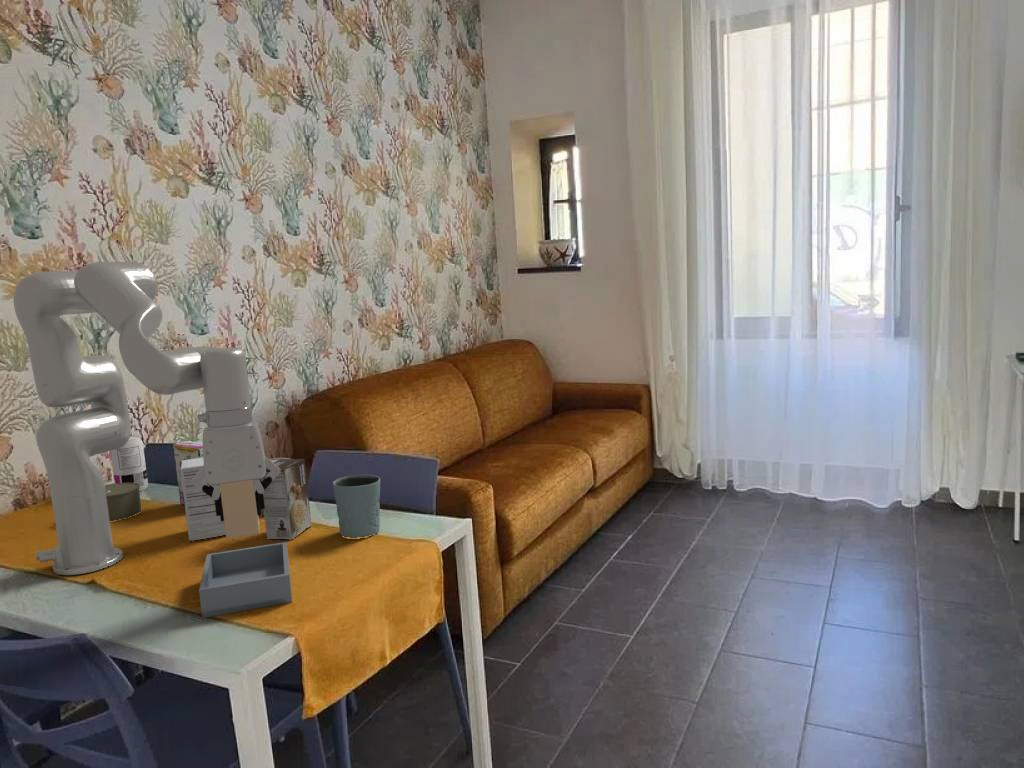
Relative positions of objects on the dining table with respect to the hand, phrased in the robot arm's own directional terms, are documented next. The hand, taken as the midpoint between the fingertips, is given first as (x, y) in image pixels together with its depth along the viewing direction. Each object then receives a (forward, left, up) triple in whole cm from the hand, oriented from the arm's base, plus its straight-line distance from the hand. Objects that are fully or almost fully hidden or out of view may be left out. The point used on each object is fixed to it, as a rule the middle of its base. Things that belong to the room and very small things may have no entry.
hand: (241, 515), depth 132 cm
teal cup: (+23, +22, -14) cm, 35 cm away
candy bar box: (-13, +62, -14) cm, 65 cm away
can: (-33, +64, -15) cm, 74 cm away
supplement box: (-9, +38, -14) cm, 42 cm away
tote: (0, 0, -14) cm, 14 cm away
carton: (0, 0, -3) cm, 3 cm away
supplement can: (-33, +88, -14) cm, 95 cm away
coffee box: (+8, +29, -14) cm, 33 cm away
